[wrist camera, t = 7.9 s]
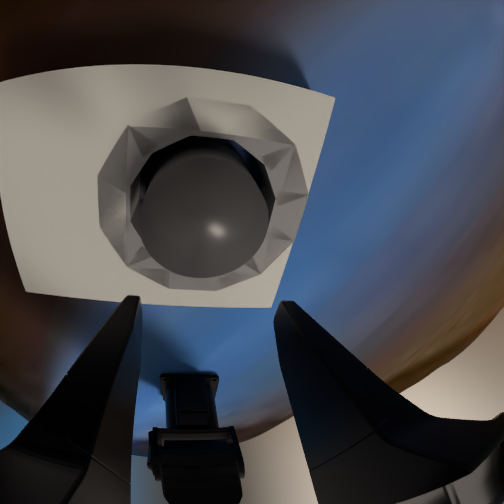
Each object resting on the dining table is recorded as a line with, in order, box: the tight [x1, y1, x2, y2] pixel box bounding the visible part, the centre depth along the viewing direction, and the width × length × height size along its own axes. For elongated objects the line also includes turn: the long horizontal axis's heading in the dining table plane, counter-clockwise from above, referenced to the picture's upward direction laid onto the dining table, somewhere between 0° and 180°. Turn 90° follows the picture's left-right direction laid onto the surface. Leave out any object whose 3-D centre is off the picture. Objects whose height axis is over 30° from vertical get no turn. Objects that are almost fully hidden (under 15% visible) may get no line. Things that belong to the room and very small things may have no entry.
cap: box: [139, 139, 269, 278], centre depth 14 cm, size 6×6×5 cm
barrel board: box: [0, 64, 335, 308], centre depth 14 cm, size 14×18×3 cm
